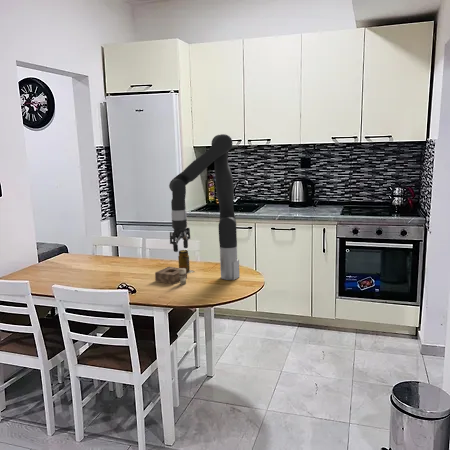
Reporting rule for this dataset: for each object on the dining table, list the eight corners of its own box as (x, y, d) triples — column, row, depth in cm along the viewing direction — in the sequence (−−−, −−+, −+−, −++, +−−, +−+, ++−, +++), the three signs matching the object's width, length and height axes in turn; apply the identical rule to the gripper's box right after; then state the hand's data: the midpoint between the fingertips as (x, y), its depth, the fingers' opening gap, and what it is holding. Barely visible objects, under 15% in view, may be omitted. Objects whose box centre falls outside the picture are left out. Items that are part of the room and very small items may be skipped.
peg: (187, 283, 223) (187, 268, 221) (183, 285, 220) (183, 270, 218) (182, 282, 225) (181, 267, 223) (178, 284, 222) (177, 269, 220)
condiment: (186, 268, 250) (185, 248, 248) (194, 271, 243) (193, 251, 241) (175, 271, 245) (174, 251, 243) (183, 274, 239) (182, 253, 237)
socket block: (187, 277, 232) (186, 269, 231) (173, 284, 222) (173, 275, 221) (169, 275, 238) (168, 266, 237) (155, 281, 228) (155, 272, 227)
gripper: (176, 221, 208) (178, 253, 211) (193, 216, 220) (194, 247, 223) (164, 220, 212) (166, 252, 215) (181, 216, 224) (183, 246, 227)
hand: (180, 249), depth 219 cm, fingers open, 8 cm apart
